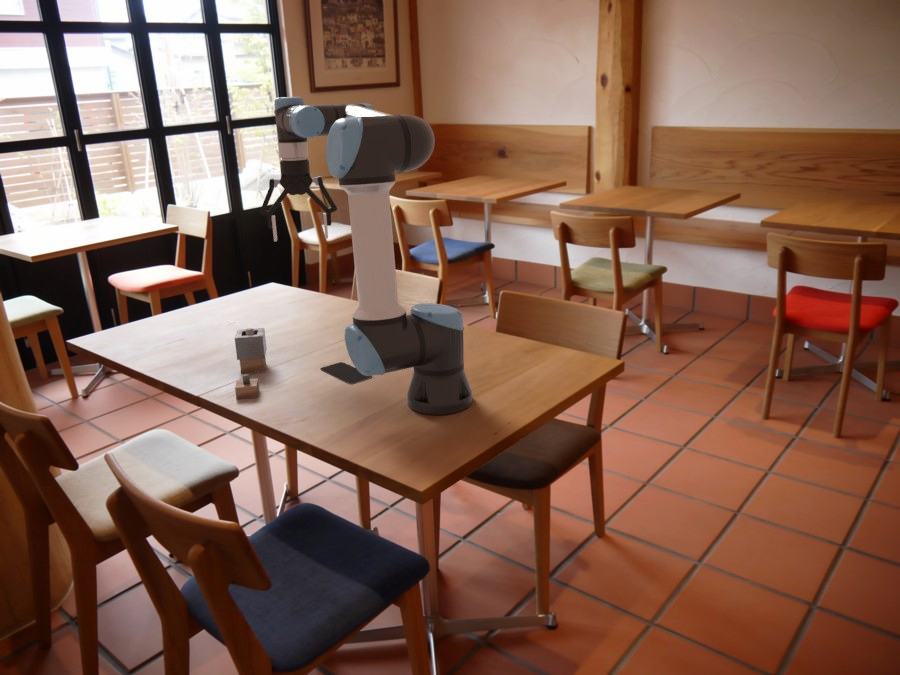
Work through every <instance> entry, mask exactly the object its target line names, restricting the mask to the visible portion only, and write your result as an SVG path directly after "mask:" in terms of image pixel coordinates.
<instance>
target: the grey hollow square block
mask: <svg viewBox="0 0 900 675" xmlns="http://www.w3.org/2000/svg"><path fill="white" fill-rule="evenodd" d="M253 331H254V335H247V336H246V331H245V329H237V330H236V332H235V336H234V343H235V344H234V345H235V352H236V360H237V361H240V360H244V359H257V358H266V355H267V354H266V353H267V340H266V330H265V327H260V328H259V327H258V328H253Z"/></svg>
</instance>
